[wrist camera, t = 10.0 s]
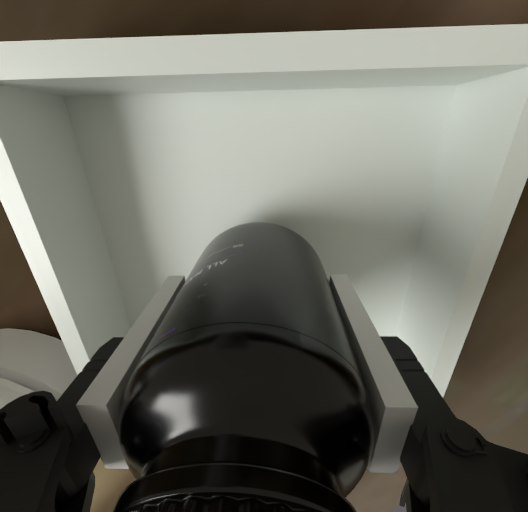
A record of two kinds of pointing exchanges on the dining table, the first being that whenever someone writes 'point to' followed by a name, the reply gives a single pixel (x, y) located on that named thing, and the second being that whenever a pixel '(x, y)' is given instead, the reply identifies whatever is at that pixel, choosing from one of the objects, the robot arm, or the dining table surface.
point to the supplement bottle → (248, 388)
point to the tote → (268, 166)
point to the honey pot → (32, 365)
